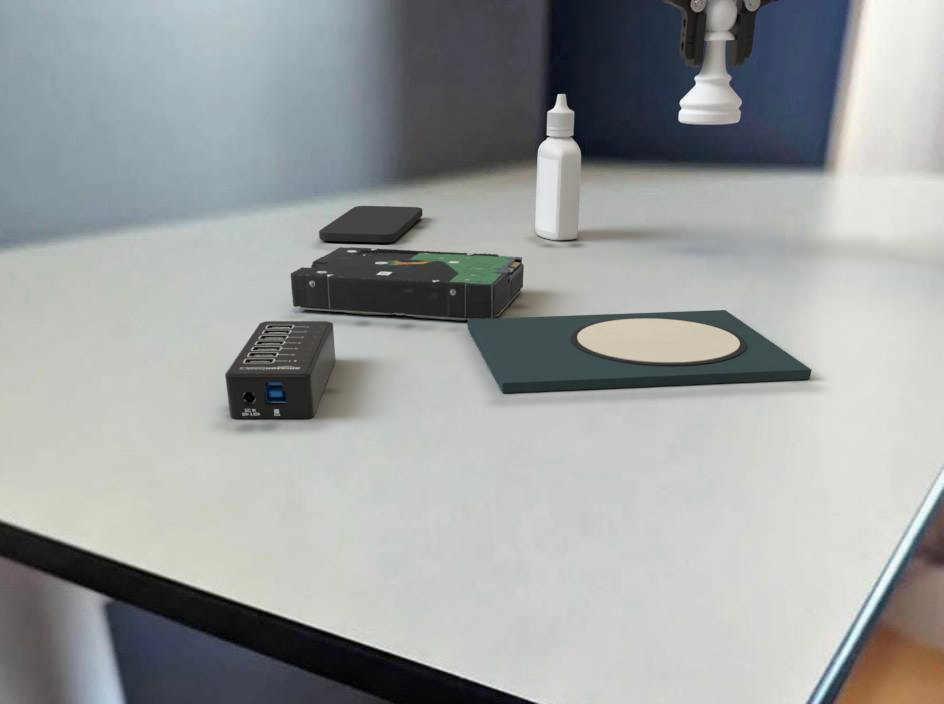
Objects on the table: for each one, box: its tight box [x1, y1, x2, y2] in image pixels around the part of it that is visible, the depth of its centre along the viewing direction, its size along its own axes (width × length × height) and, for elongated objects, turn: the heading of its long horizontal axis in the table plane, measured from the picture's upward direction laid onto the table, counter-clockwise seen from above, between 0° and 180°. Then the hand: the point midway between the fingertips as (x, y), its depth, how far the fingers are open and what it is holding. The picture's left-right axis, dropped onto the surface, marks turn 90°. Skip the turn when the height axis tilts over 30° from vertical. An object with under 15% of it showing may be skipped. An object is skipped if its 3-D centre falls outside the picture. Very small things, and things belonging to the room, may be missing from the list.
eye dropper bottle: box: [534, 93, 582, 241], centre depth 95 cm, size 4×6×12 cm
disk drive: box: [290, 246, 525, 321], centre depth 75 cm, size 10×3×15 cm
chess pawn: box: [677, 0, 743, 126], centre depth 83 cm, size 5×5×9 cm
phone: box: [318, 205, 423, 243], centre depth 100 cm, size 7×1×15 cm
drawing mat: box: [467, 309, 812, 394], centre depth 64 cm, size 18×14×1 cm
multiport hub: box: [224, 320, 336, 419], centre depth 58 cm, size 4×11×2 cm, turn 0°
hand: (714, 65), depth 83 cm, fingers closed on chess pawn, 3 cm apart
